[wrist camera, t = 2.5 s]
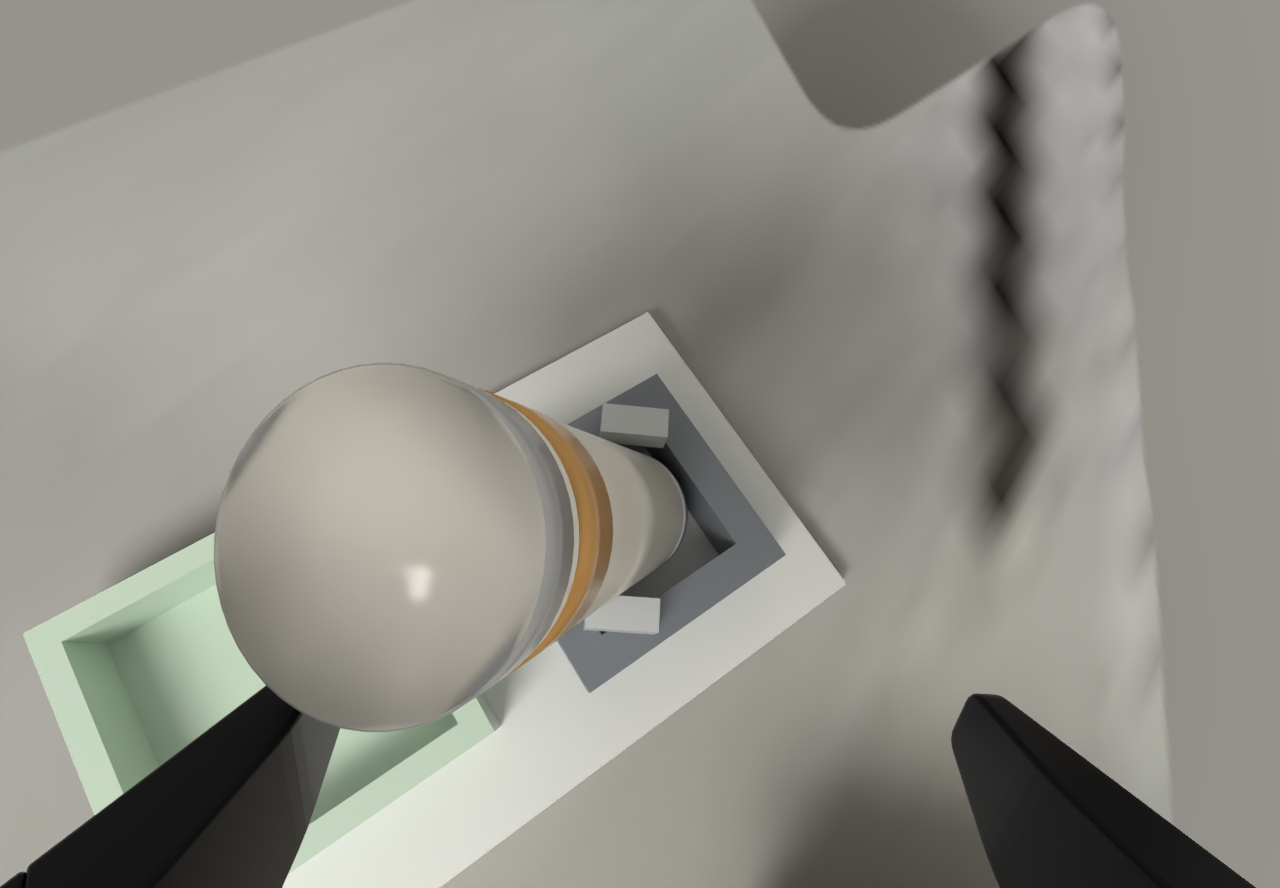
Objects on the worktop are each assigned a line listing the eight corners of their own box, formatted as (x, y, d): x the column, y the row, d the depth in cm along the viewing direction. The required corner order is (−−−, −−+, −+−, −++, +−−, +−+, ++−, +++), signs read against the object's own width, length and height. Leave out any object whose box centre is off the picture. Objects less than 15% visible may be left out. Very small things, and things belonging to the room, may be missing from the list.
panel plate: (230, 1039, 17) (218, 1052, 16) (62, 632, 19) (47, 631, 19) (839, 586, 22) (846, 583, 22) (645, 319, 25) (648, 311, 24)
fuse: (612, 603, 21) (327, 809, 7) (541, 500, 21) (156, 504, 8) (713, 527, 20) (624, 587, 7) (638, 426, 21) (415, 289, 7)
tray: (212, 925, 17) (154, 966, 15) (91, 638, 19) (22, 633, 17) (503, 724, 20) (494, 731, 17) (369, 487, 22) (345, 463, 19)
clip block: (586, 690, 20) (591, 694, 17) (475, 506, 22) (458, 473, 18) (760, 568, 22) (797, 548, 19) (646, 406, 24) (661, 359, 20)
